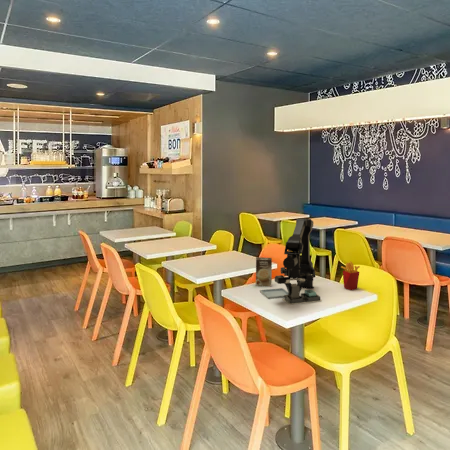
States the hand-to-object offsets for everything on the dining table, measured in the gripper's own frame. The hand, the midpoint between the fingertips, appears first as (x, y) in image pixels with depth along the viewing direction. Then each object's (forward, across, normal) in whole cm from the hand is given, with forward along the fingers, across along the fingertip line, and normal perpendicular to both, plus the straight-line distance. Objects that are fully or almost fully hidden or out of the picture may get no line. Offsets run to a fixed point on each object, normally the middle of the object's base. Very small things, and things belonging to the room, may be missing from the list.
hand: (293, 294), depth 217 cm
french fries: (+4, -38, -14) cm, 41 cm away
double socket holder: (+4, -4, 0) cm, 6 cm away
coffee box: (+4, +4, -33) cm, 34 cm away
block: (+1, 0, 0) cm, 1 cm away
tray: (+4, +4, -14) cm, 15 cm away
